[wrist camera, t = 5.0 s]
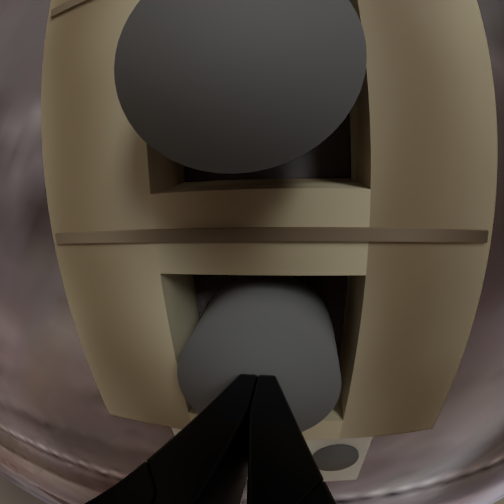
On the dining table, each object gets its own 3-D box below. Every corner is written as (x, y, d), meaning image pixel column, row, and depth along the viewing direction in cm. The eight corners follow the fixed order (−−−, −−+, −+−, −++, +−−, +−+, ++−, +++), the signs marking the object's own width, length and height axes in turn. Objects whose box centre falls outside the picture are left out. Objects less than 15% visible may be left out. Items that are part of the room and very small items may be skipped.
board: (395, -108, 4) (408, -141, 2) (415, 385, 11) (433, 430, 8) (111, -83, 6) (82, -108, 3) (133, 376, 12) (108, 415, 10)
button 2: (337, 272, 9) (350, 319, 6) (326, 381, 10) (331, 439, 7) (197, 271, 9) (164, 314, 7) (211, 376, 10) (190, 430, 8)
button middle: (334, 6, 5) (349, -51, 3) (345, 165, 7) (373, 173, 4) (170, 19, 6) (120, -22, 4) (174, 170, 7) (118, 183, 5)
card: (375, 413, 11) (380, 435, 10) (355, 471, 13) (357, 489, 12) (171, 405, 13) (161, 424, 11) (189, 463, 14) (183, 480, 13)
